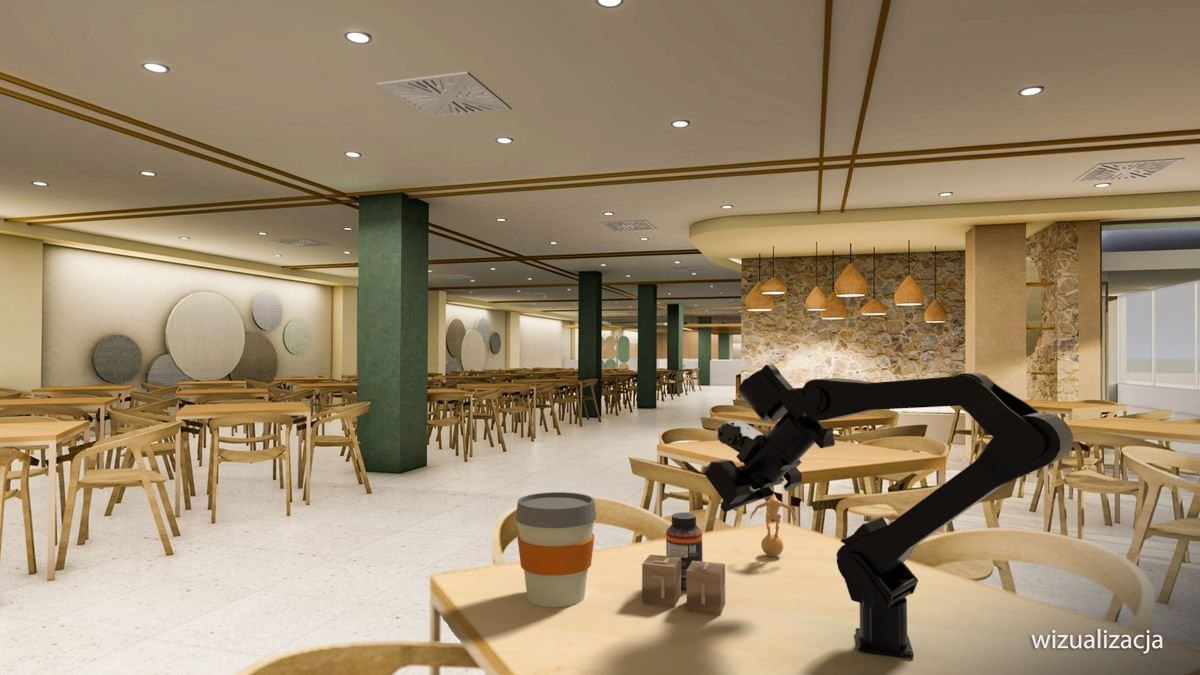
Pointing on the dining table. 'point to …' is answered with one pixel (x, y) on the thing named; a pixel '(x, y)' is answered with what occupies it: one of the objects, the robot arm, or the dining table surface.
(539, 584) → the reusable coffee cup
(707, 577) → the block one
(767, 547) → the figurine
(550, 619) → the dining table surface
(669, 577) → the block seven
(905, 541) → the robot arm
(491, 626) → the dining table surface
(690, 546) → the supplement bottle
